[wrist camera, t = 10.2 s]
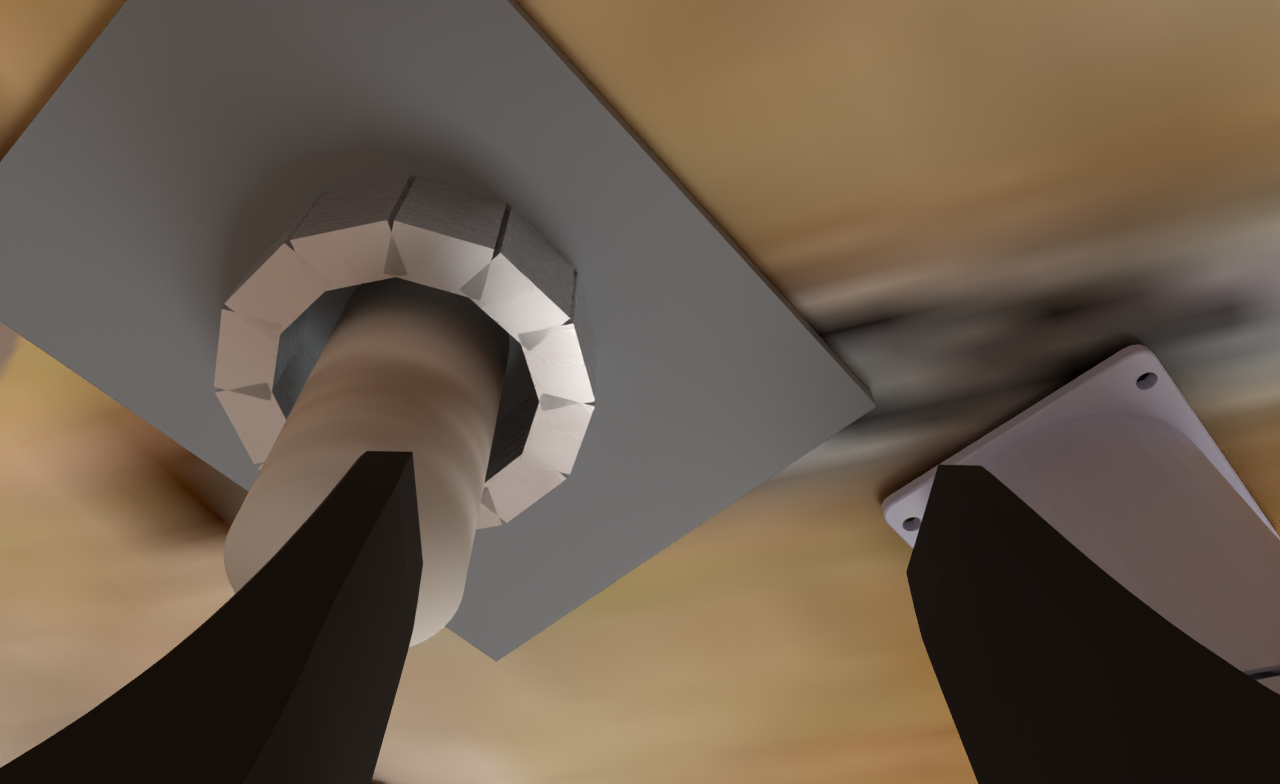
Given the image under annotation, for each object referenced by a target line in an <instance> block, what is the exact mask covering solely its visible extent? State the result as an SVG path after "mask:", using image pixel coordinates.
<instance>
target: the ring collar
mask: <svg viewBox="0 0 1280 784" xmlns="http://www.w3.org/2000/svg"><path fill="white" fill-rule="evenodd" d="M506 203H507V202H504V201H500V200H497V199H494V198H490V197H487V196H484V195H480V194H477V193H474V192H470V191H467V190H464V189H460V188H457V187H454V186H450V185H447V184H444V183H440V182H437V181H433V180H430V179H427V178H423V177H420V176H416V178H415V180H414V182H413V181H412V178H411V175H409V176H405V177H400V178H395V179H390V180H386V181H381V182H376V183H371V184H367V185H362V186H357V187H352V188H348V189H343V190H338V191H333V192H329V193H324V194H323V195H322V196H321V198H319V197H317V198H316V199H315V200H314V201H313V202H312V203H311V204H310V205H309V206H308V207H307V208H306V209H305V210H304V211H303V212H302V213H301V214H300V215H299V216H298V217H297V218H296V219H295V220H294V221H293V222H292V223H291V224H290V225H289V226H288V228H287V229H286V230H285V231H284V232H283V233H282V234H281V235H280V236H279V237H278V238H277V239H276V240H275V241H274V242H273V243H272V244H271V245H270V246H269V247H268V248H267V249H266V250H265V251H264V252H263V253H262V254H261V256H260V257H259V258H258V260H257V261H256V262H255V264H254V265H253V266H252V268H251V269H250V270H249V272H248V273H247V274H246V276H245V277H244V278H243V280H242V281H241V282H240V284H239V285H238V286H237V287H236V289H235V290H234V291H233V293H232V294H231V295H230V297H229V298H228V299H227V301H226V302H225V303H224V304H225V305H224V307H223V308H222V312H221V322H220V332H219V341H218V351H217V361H216V370H215V380H214V387H216V388H217V390H216V392H215V393H216V395H217V397H218V399H219V401H220V403H221V404H222V406H223V408H224V410H225V412H226V414H227V415H228V417H229V419H230V421H231V423H232V425H233V426H234V428H235V430H236V432H237V434H238V436H239V438H240V439H241V441H242V443H243V445H244V447H245V449H246V450H247V452H248V454H249V456H250V458H251V460H252V461H253V463H254V464H257V463H260V465H259V467H258V469H259V470H261V468H262V466H263V464H264V462H265V460H266V458H267V456H268V455H269V453H270V451H271V449H272V447H273V445H274V443H275V441H276V439H277V437H278V435H279V433H280V431H281V430H282V428H283V426H284V424H285V422H286V420H287V418H288V416H289V414H290V412H291V410H292V408H293V406H294V405H295V403H296V401H297V399H298V397H299V395H300V393H301V391H302V389H303V387H304V385H305V383H306V381H307V380H308V378H309V376H310V374H311V372H312V370H313V368H314V366H315V364H316V360H315V358H314V356H313V354H312V351H311V349H310V347H309V345H308V343H307V341H306V338H305V336H304V332H305V326H306V319H307V313H308V307H309V306H310V305H311V304H312V303H313V302H314V301H315V300H316V299H318V298H319V297H320V296H321V295H322V294H323V293H324V292H325V291H328V290H333V289H338V288H343V287H348V286H353V285H358V284H363V283H368V282H373V281H378V280H383V279H388V278H393V277H397V278H401V279H405V280H408V281H412V282H415V283H419V284H423V285H426V286H430V287H433V288H437V289H441V290H444V291H448V292H451V293H455V294H459V295H462V296H466V297H469V298H470V299H471V300H472V301H473V302H475V303H476V304H477V305H478V306H479V307H480V308H481V309H482V310H483V311H485V312H486V313H487V314H488V315H489V316H490V317H491V318H492V319H494V320H495V321H496V322H497V323H498V324H499V325H500V326H501V327H502V328H504V329H505V330H506V331H507V332H508V333H509V334H510V335H511V336H513V337H514V338H515V339H516V340H517V341H518V342H519V343H520V344H521V346H522V349H523V352H524V355H525V358H526V361H527V364H528V367H529V371H530V374H531V377H532V380H533V383H534V386H533V389H532V392H531V394H530V395H529V396H528V397H527V398H525V399H524V400H523V401H522V402H520V403H519V404H518V405H517V406H515V407H514V408H513V409H512V410H510V411H509V412H508V413H507V414H505V415H504V416H503V417H502V418H500V419H499V420H498V421H497V422H496V425H495V430H494V435H493V441H492V446H491V451H490V456H489V462H488V467H487V472H486V477H485V483H484V488H483V493H482V498H481V504H480V509H479V514H478V519H477V525H476V529H482V528H488V527H494V526H499V525H502V521H503V520H504V521H505V522H506V523H508V522H509V521H510V520H512V519H513V518H514V517H516V516H517V515H518V514H520V513H521V512H522V511H524V510H525V509H526V508H528V507H529V506H531V505H532V504H533V503H535V502H536V501H537V500H539V499H540V498H541V497H543V496H544V495H545V494H547V493H548V492H549V491H551V490H552V489H553V488H555V487H556V486H558V485H559V484H560V483H562V482H563V481H564V480H566V479H567V474H569V475H570V473H571V470H572V467H573V465H574V462H575V459H576V457H577V454H578V451H579V448H580V446H581V443H582V440H583V437H584V435H585V432H586V429H587V427H588V424H589V421H590V418H591V416H592V413H593V410H594V407H595V389H596V360H597V342H596V339H595V335H594V331H593V327H592V324H591V320H590V316H589V312H588V309H587V305H586V301H585V297H584V294H583V290H582V286H581V282H580V279H579V275H578V271H577V272H574V268H575V266H574V265H573V264H572V263H571V262H570V261H569V260H568V259H566V258H565V257H564V256H563V255H562V254H561V253H560V252H559V251H558V250H557V249H556V248H555V247H554V246H553V245H552V244H551V243H550V242H549V241H548V240H547V239H546V238H545V237H544V236H543V235H542V234H541V233H540V232H539V231H538V230H537V229H536V228H535V227H534V226H533V225H532V224H531V223H530V222H529V221H527V220H526V219H525V218H524V217H523V216H522V215H521V214H520V213H519V212H518V211H517V210H516V209H515V208H514V207H513V206H511V207H510V208H509V209H508V210H507V211H506V212H505V213H504V211H505V207H506Z"/></svg>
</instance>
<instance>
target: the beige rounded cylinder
mask: <svg viewBox="0 0 1280 784" xmlns="http://www.w3.org/2000/svg"><path fill="white" fill-rule="evenodd" d="M509 350H510V338H509V333H508V332H507V331H506V330H505V329H504V328H502V327H501V326H500V325H499V324H498V323H497V322H496V321H495V320H494V319H492V318H491V317H490V316H489V315H488V314H487V313H486V312H485V311H483V310H482V309H481V308H480V307H479V306H478V305H477V304H476V303H475V302H473V301H472V300H471V299H470V298H469V297H466V296H462V295H459V294H455V293H451V292H448V291H444V290H441V289H437V288H433V287H430V286H426V285H423V284H419V283H415V282H412V281H408V280H405V279H401V278H397V277H393V278H388V279H383V280H378V281H373V282H368V283H363V284H361V285H360V286H359V287H358V288H357V289H356V290H355V291H354V293H353V294H352V296H351V297H350V299H349V301H348V303H347V305H346V306H345V308H344V310H343V312H342V314H341V316H340V318H339V320H338V322H337V324H336V326H335V328H334V330H333V331H332V333H331V335H330V337H329V339H328V341H327V343H326V345H325V347H324V349H323V351H322V353H321V355H320V356H319V358H318V360H317V362H316V364H315V366H314V368H313V370H312V372H311V374H310V376H309V378H308V380H307V381H306V383H305V385H304V387H303V389H302V391H301V393H300V395H299V397H298V399H297V401H296V403H295V405H294V406H293V408H292V410H291V412H290V414H289V416H288V418H287V420H286V422H285V424H284V426H283V428H282V430H281V431H280V433H279V435H278V437H277V439H276V441H275V443H274V445H273V447H272V449H271V451H270V453H269V455H268V456H267V458H266V460H265V462H264V464H263V466H262V468H261V470H260V472H259V474H258V476H257V478H256V480H255V481H254V483H253V485H252V487H251V489H250V491H249V493H248V495H247V497H246V499H245V501H244V503H243V505H242V507H241V508H240V510H239V512H238V514H237V516H236V518H235V520H234V522H233V524H232V526H231V528H230V530H229V533H228V535H227V538H226V542H225V546H224V563H225V570H226V573H227V576H228V579H229V582H230V584H231V586H232V588H233V590H234V592H235V593H237V592H238V591H239V590H240V589H241V588H242V587H243V586H244V585H245V584H246V583H247V582H248V581H249V580H250V579H251V578H252V577H253V576H254V575H255V574H256V573H257V572H258V571H259V570H260V569H261V568H262V567H263V566H264V565H265V564H266V563H267V562H268V561H269V560H270V559H271V558H272V557H273V556H274V555H275V554H276V553H277V552H278V551H279V550H280V549H281V548H282V546H283V545H284V544H285V543H286V542H287V541H288V540H289V539H290V538H291V537H292V535H293V534H294V533H295V532H296V531H297V530H298V529H299V528H300V527H301V526H302V524H303V523H304V522H305V521H306V520H307V519H308V518H309V517H310V516H311V514H312V513H313V512H314V511H315V510H316V509H317V507H318V506H319V505H320V504H321V503H322V502H323V500H324V499H325V498H326V497H327V496H328V495H329V493H330V492H331V491H332V490H333V489H334V487H335V486H336V485H337V484H338V483H339V481H340V480H341V479H342V478H343V476H344V475H345V474H346V473H347V471H348V470H349V469H350V468H351V467H352V465H353V464H354V463H355V462H356V460H357V459H358V458H359V457H360V456H361V455H362V454H363V453H365V452H366V451H399V452H413V461H414V472H415V483H416V493H417V504H418V515H419V525H420V536H421V547H422V557H423V569H422V576H421V583H420V589H419V596H418V603H417V609H416V616H415V622H414V628H413V633H412V637H411V641H410V645H409V647H412V646H414V645H416V644H419V643H421V642H423V641H425V640H427V639H428V638H430V637H432V636H433V635H435V634H436V633H437V632H439V631H440V630H441V629H442V628H443V627H445V625H446V624H447V623H448V622H449V621H450V620H451V619H452V617H453V616H454V614H455V613H456V611H457V610H458V607H459V605H460V603H461V600H462V597H463V592H464V588H465V582H466V577H467V572H468V567H469V561H470V556H471V551H472V546H473V540H474V535H475V530H476V525H477V519H478V514H479V509H480V504H481V498H482V493H483V488H484V483H485V477H486V472H487V467H488V462H489V456H490V451H491V446H492V441H493V435H494V430H495V425H496V420H497V414H498V409H499V404H500V399H501V393H502V388H503V383H504V378H505V372H506V367H507V362H508V357H509Z"/></svg>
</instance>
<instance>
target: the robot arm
mask: <svg viewBox="0 0 1280 784" xmlns="http://www.w3.org/2000/svg"><path fill="white" fill-rule="evenodd" d="M1147 372H1150V373H1149V375H1148V376H1147V377H1146V378H1145V379H1144V380H1141V381H1139V382H1137V379H1138V378H1139V377H1140V376H1141V375H1142V374H1145V373H1147ZM881 511H882V514H883V517H884V519H885V520H886V522H887V523H888V524H889V525H890V526H891V527H892V528H893V529H894V530H895V531H896V532H897V533H898V534H899V535H900V536H901V537H902V538H903V539H904V540H905V542H906V543H907V544H908V545H909V546H910V547H911V548H912V549H913V552H912V555H911V558H910V562H909V565H908V569H907V572H906V573H907V577H908V582H909V586H910V591H911V595H912V600H913V604H914V609H915V613H916V617H917V620H918V624H919V628H920V632H921V636H922V639H923V642H924V645H925V647H926V650H927V653H928V656H929V658H930V661H931V663H932V666H933V669H934V671H935V674H936V677H937V679H938V682H939V684H940V687H941V690H942V692H943V695H944V697H945V700H946V702H947V705H948V707H949V710H950V713H951V715H952V718H953V720H954V723H955V725H956V728H957V730H958V733H959V735H960V738H961V741H962V743H963V746H964V748H965V751H966V753H967V756H968V758H969V761H970V763H971V766H972V769H973V771H974V774H975V776H976V779H977V781H978V784H1280V537H1279V536H1278V534H1277V533H1276V531H1275V530H1274V528H1273V527H1272V525H1271V524H1270V522H1269V521H1268V520H1267V518H1266V517H1265V515H1264V514H1263V512H1262V511H1261V509H1260V508H1259V506H1258V505H1257V503H1256V502H1255V501H1254V499H1253V498H1252V496H1251V495H1250V493H1249V492H1248V490H1247V489H1246V487H1245V486H1244V484H1243V483H1242V481H1241V480H1240V479H1239V477H1238V476H1237V474H1236V473H1235V471H1234V470H1233V468H1232V467H1231V465H1230V464H1229V462H1228V461H1227V460H1226V458H1225V457H1224V455H1223V454H1222V452H1221V451H1220V449H1219V448H1218V446H1217V445H1216V443H1215V442H1214V440H1213V439H1212V438H1211V436H1210V435H1209V433H1208V432H1207V430H1206V429H1205V427H1204V426H1203V424H1202V423H1201V421H1200V420H1199V419H1198V417H1197V416H1196V414H1195V413H1194V411H1193V410H1192V408H1191V407H1190V405H1189V404H1188V402H1187V401H1186V399H1185V398H1184V397H1183V395H1182V394H1181V392H1180V391H1179V389H1178V388H1177V386H1176V385H1175V383H1174V382H1173V380H1172V379H1171V378H1170V376H1169V375H1168V373H1167V372H1166V370H1165V369H1164V367H1163V366H1162V364H1161V363H1160V361H1159V360H1158V358H1157V357H1156V356H1155V355H1154V354H1153V353H1152V351H1151V350H1149V349H1148V348H1147V347H1146V346H1143V345H1139V344H1138V345H1130V346H1128V347H1126V348H1124V349H1122V350H1120V351H1119V352H1117V353H1116V354H1114V355H1112V356H1111V357H1109V358H1108V359H1106V360H1104V361H1103V362H1101V363H1100V364H1098V365H1096V366H1095V367H1093V368H1092V369H1090V370H1088V371H1087V372H1085V373H1084V374H1082V375H1081V376H1079V377H1077V378H1076V379H1074V380H1073V381H1071V382H1069V383H1068V384H1066V385H1065V386H1063V387H1061V388H1060V389H1058V390H1057V391H1055V392H1053V393H1052V394H1050V395H1049V396H1047V397H1045V398H1044V399H1042V400H1041V401H1039V402H1038V403H1036V404H1034V405H1033V406H1031V407H1030V408H1028V409H1026V410H1025V411H1023V412H1022V413H1020V414H1018V415H1017V416H1015V417H1014V418H1012V419H1010V420H1009V421H1007V422H1006V423H1004V424H1002V425H1001V426H999V427H998V428H996V429H995V430H993V431H991V432H990V433H988V434H987V435H985V436H983V437H982V438H980V439H979V440H977V441H975V442H974V443H972V444H971V445H969V446H967V447H966V448H964V449H963V450H961V451H960V452H958V453H956V454H955V455H953V456H952V457H950V458H948V459H947V460H945V461H944V462H942V463H940V464H939V465H937V466H936V467H934V468H932V469H931V470H929V471H928V472H926V473H924V474H923V475H921V476H920V477H918V478H917V479H915V480H913V481H912V482H910V483H909V484H907V485H905V486H904V487H902V488H901V489H899V490H897V491H896V492H894V493H893V494H891V495H889V496H888V497H887V498H886V499H885V500H884V501H883V503H882V505H881ZM910 517H916V518H915V519H914V520H913V521H910V522H904V521H905V520H906V519H908V518H910ZM422 569H423V557H422V547H421V536H420V525H419V515H418V504H417V493H416V483H415V472H414V461H413V452H399V451H366V452H365V453H363V454H362V455H361V456H360V457H359V458H358V459H357V460H356V462H355V463H354V464H353V465H352V467H351V468H350V469H349V470H348V471H347V473H346V474H345V475H344V476H343V478H342V479H341V480H340V481H339V483H338V484H337V485H336V486H335V487H334V489H333V490H332V491H331V492H330V493H329V495H328V496H327V497H326V498H325V499H324V500H323V502H322V503H321V504H320V505H319V506H318V507H317V509H316V510H315V511H314V512H313V513H312V514H311V516H310V517H309V518H308V519H307V520H306V521H305V522H304V523H303V524H302V526H301V527H300V528H299V529H298V530H297V531H296V532H295V533H294V534H293V535H292V537H291V538H290V539H289V540H288V541H287V542H286V543H285V544H284V545H283V546H282V548H281V549H280V550H279V551H278V552H277V553H276V554H275V555H274V556H273V557H272V558H271V559H270V560H269V561H268V562H267V563H266V564H265V565H264V566H263V567H262V568H261V569H260V570H259V571H258V572H257V573H256V574H255V575H254V576H253V577H252V578H251V579H250V580H249V581H248V582H247V583H246V584H245V585H244V586H243V587H242V588H241V589H240V590H239V591H238V592H237V593H236V594H235V595H234V596H233V597H232V598H231V599H230V600H229V601H228V602H227V603H225V604H224V605H223V606H222V607H221V608H220V609H219V610H218V611H217V612H216V613H215V614H213V615H212V616H211V617H210V618H209V619H208V620H207V621H206V622H205V623H203V624H202V625H201V626H200V627H199V628H198V629H196V630H195V631H194V632H193V633H192V634H191V635H189V636H188V637H187V638H186V639H185V640H183V641H182V642H181V643H180V644H179V645H177V646H176V647H175V648H174V649H173V650H171V651H170V652H169V653H168V654H167V655H165V656H164V657H163V658H162V659H160V660H159V661H158V662H156V663H155V664H154V665H152V666H151V667H150V668H149V669H147V670H146V671H145V672H143V673H142V674H141V675H139V676H138V677H137V678H135V679H134V680H132V681H131V682H130V683H128V684H127V685H126V686H124V687H123V688H121V689H120V690H119V691H117V692H116V693H115V694H113V695H112V696H110V697H109V698H108V699H106V700H105V701H103V702H102V703H101V704H99V705H98V706H97V707H95V708H94V709H92V710H91V711H90V712H88V713H87V714H85V715H84V716H82V717H81V718H79V719H78V720H76V721H75V722H73V723H71V724H70V725H68V726H67V727H65V728H64V729H62V730H61V731H59V732H58V733H56V734H54V735H53V736H51V737H50V738H48V739H47V740H45V741H44V742H42V743H40V744H39V745H37V746H35V747H34V748H32V749H31V750H29V751H27V752H26V753H24V754H22V755H21V756H19V757H18V758H16V759H14V760H13V761H11V762H9V763H8V764H6V765H4V766H3V767H1V768H0V784H371V780H372V777H373V773H374V770H375V766H376V763H377V759H378V756H379V752H380V748H381V745H382V741H383V738H384V734H385V731H386V727H387V724H388V720H389V717H390V713H391V709H392V706H393V702H394V699H395V695H396V692H397V688H398V685H399V681H400V677H401V674H402V670H403V666H404V663H405V659H406V656H407V652H408V648H409V645H410V641H411V637H412V633H413V628H414V622H415V616H416V609H417V603H418V596H419V589H420V583H421V576H422Z"/></svg>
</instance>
